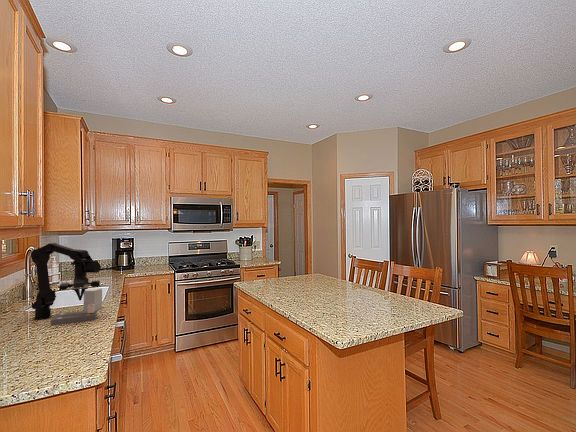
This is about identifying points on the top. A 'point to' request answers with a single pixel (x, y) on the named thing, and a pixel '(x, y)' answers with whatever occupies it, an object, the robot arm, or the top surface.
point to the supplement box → (93, 298)
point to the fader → (91, 308)
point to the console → (73, 317)
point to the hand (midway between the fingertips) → (80, 300)
